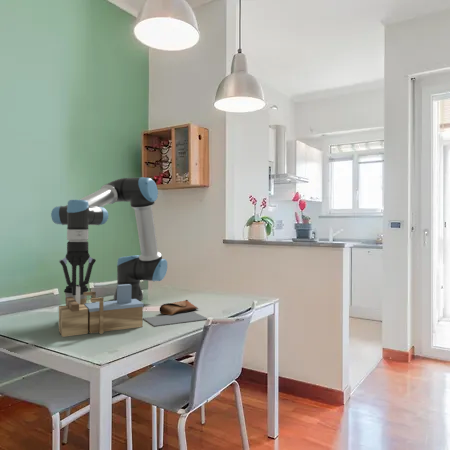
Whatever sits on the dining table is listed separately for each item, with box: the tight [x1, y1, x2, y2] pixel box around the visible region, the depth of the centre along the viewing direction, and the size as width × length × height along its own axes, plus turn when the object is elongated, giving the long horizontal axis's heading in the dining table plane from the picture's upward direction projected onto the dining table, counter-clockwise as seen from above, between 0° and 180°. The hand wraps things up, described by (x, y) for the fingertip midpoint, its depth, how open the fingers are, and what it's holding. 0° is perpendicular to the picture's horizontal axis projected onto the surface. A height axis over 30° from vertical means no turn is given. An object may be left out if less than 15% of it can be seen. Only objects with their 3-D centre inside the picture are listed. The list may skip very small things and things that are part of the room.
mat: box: [143, 311, 208, 327], centre depth 168 cm, size 14×24×1 cm, turn 119°
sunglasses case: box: [159, 299, 199, 315], centre depth 182 cm, size 18×7×7 cm
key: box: [65, 297, 79, 312], centre depth 147 cm, size 16×2×2 cm, turn 29°
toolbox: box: [58, 291, 144, 338], centre depth 153 cm, size 15×30×13 cm, turn 119°
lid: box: [84, 284, 145, 312], centre depth 155 cm, size 11×21×9 cm, turn 119°
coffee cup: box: [63, 284, 90, 304], centre depth 160 cm, size 9×9×15 cm
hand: (77, 303), depth 148 cm, fingers closed
